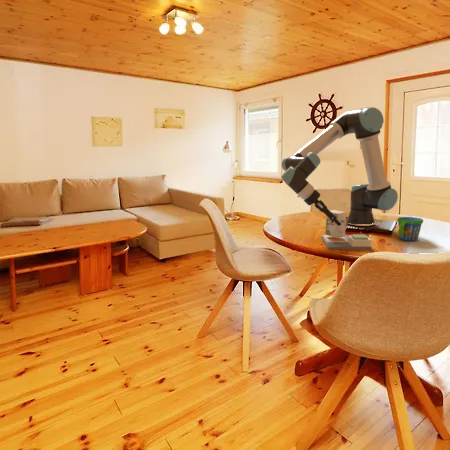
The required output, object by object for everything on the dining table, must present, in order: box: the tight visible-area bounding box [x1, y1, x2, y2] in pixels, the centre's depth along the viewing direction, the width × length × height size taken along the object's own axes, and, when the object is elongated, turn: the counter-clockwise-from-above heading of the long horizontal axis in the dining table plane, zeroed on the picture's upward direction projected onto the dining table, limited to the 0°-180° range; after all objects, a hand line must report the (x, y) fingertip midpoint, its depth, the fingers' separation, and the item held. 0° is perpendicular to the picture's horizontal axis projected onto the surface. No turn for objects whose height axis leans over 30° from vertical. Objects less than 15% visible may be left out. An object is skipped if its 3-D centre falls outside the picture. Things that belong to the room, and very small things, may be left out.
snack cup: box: [396, 216, 424, 242], centre depth 169 cm, size 16×10×10 cm
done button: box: [351, 234, 369, 239], centre depth 159 cm, size 6×6×2 cm
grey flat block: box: [320, 234, 372, 250], centre depth 166 cm, size 18×21×4 cm
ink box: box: [325, 209, 347, 238], centre depth 169 cm, size 8×5×12 cm, turn 24°
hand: (342, 227), depth 169 cm, fingers open, 9 cm apart
